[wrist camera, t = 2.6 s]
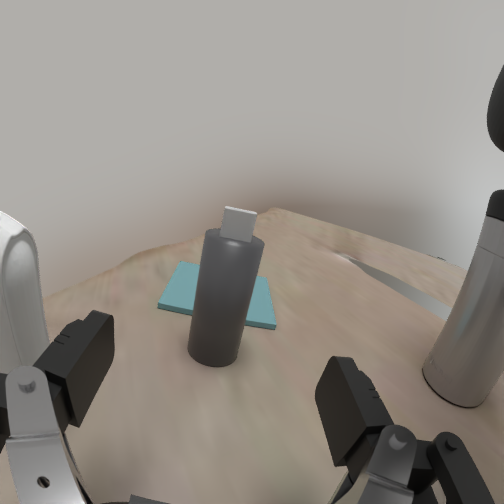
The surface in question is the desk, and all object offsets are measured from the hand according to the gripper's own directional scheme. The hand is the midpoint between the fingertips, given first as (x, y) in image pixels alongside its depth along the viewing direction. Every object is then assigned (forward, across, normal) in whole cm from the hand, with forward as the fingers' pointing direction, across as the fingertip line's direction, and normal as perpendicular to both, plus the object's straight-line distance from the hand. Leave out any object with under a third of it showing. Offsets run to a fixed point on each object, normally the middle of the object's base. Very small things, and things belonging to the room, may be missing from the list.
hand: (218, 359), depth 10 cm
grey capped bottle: (+12, 0, +9) cm, 15 cm away
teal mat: (+23, 0, +8) cm, 24 cm away
